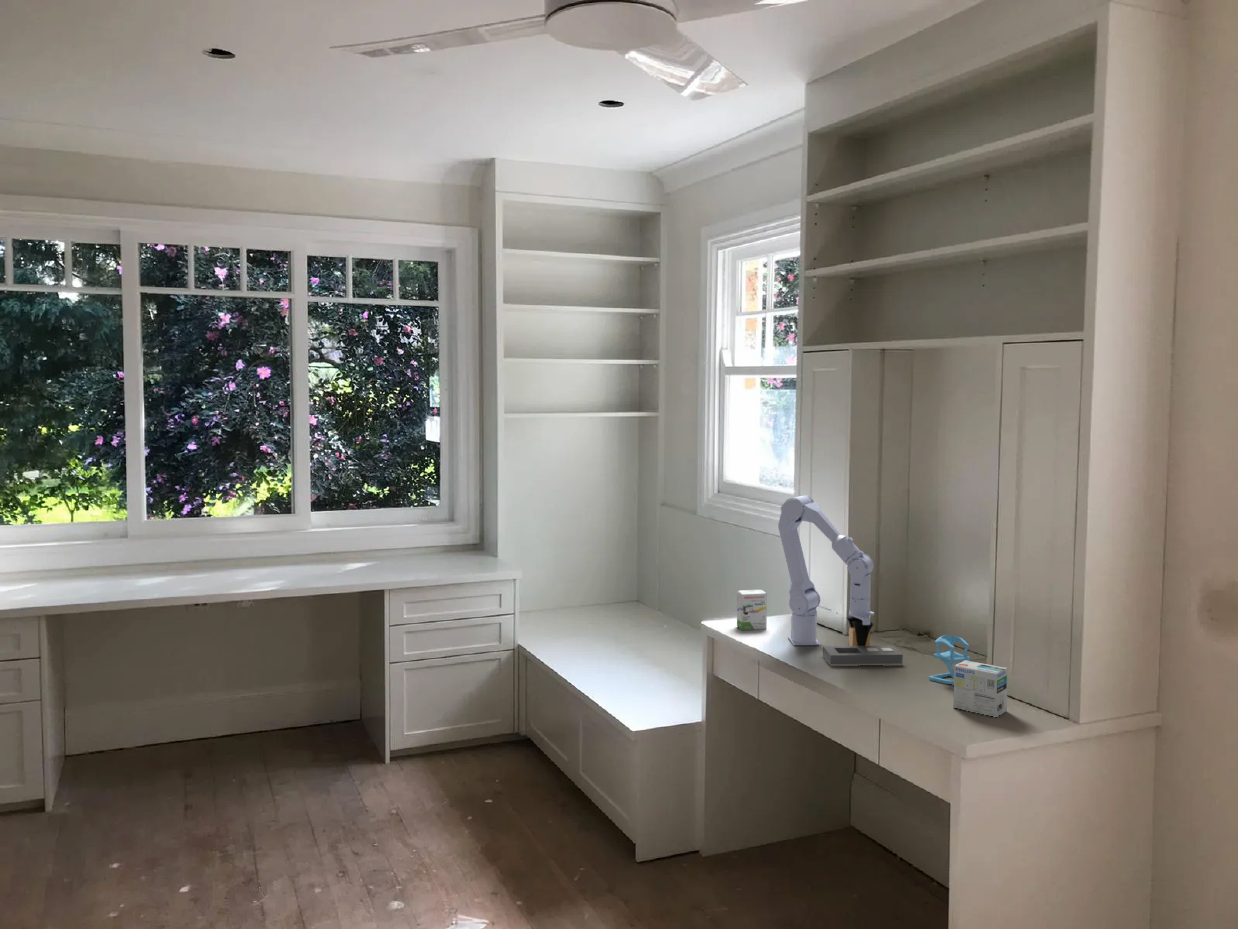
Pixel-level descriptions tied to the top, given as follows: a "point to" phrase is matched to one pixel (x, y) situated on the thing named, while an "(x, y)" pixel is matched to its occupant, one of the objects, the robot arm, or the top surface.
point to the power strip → (862, 655)
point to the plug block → (853, 637)
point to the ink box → (751, 609)
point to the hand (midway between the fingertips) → (859, 643)
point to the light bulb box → (980, 688)
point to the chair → (949, 657)
